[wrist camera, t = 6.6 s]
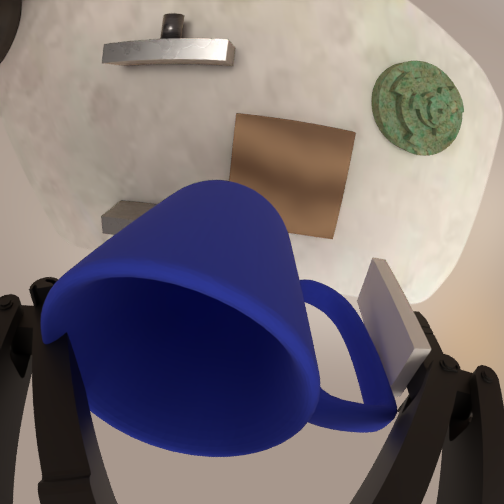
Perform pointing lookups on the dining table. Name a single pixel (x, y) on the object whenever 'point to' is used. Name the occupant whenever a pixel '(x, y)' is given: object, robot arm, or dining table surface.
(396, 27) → the dining table surface
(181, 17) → the vise jaws
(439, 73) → the decorative artifact
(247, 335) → the mug
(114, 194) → the dining table surface
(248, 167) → the walnut board
